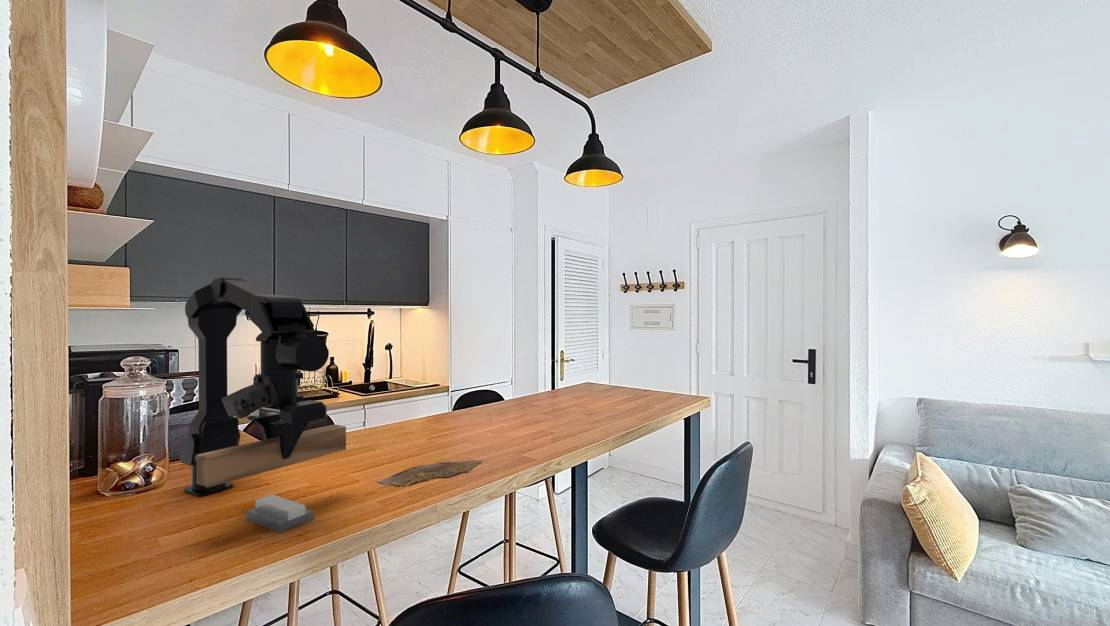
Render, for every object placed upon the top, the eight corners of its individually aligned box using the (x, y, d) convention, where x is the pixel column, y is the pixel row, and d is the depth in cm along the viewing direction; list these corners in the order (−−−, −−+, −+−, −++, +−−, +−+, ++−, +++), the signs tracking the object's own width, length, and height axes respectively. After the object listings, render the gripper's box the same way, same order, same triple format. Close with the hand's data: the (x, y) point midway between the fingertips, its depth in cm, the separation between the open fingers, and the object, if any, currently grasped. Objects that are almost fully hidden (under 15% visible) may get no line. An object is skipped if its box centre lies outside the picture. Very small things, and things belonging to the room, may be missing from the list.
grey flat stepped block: (246, 519, 86) (246, 502, 86) (280, 507, 91) (280, 491, 91) (279, 532, 81) (279, 514, 81) (313, 519, 86) (313, 502, 86)
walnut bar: (196, 483, 77) (196, 454, 77) (334, 447, 97) (334, 424, 97) (207, 487, 75) (207, 458, 75) (345, 449, 95) (345, 426, 95)
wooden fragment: (385, 492, 100) (385, 487, 100) (370, 477, 109) (370, 473, 109) (496, 469, 115) (496, 464, 115) (475, 457, 124) (475, 453, 124)
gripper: (201, 369, 84) (201, 460, 84) (262, 376, 74) (262, 479, 74) (267, 363, 93) (267, 445, 93) (328, 369, 84) (328, 460, 84)
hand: (279, 456), depth 86 cm, fingers closed on walnut bar, 3 cm apart
